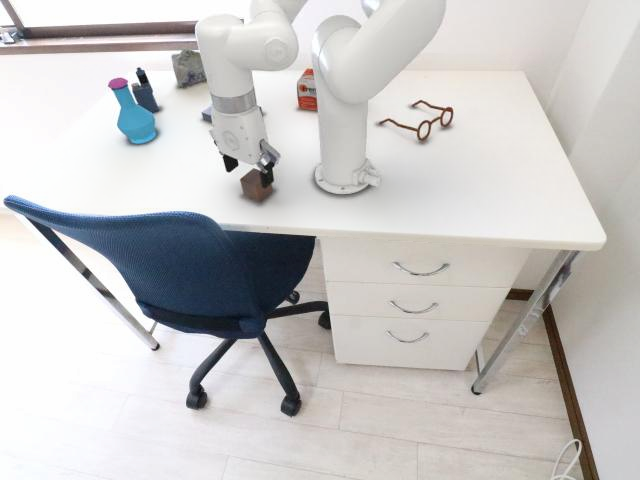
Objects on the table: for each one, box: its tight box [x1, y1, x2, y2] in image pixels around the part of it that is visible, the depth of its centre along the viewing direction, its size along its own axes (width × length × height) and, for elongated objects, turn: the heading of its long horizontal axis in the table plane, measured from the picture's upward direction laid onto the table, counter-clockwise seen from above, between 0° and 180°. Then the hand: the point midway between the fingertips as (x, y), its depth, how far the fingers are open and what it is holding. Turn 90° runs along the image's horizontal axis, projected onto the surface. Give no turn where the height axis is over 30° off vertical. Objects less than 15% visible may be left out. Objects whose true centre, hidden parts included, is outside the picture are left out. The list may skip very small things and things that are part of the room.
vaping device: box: [130, 66, 160, 114], centre depth 103 cm, size 3×5×12 cm, turn 112°
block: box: [239, 167, 274, 203], centre depth 79 cm, size 4×4×4 cm
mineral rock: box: [170, 48, 207, 88], centre depth 115 cm, size 13×11×10 cm
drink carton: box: [296, 68, 318, 112], centre depth 101 cm, size 15×8×8 cm, turn 72°
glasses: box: [379, 99, 454, 142], centre depth 93 cm, size 13×13×5 cm
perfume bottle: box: [107, 77, 157, 145], centre depth 93 cm, size 9×9×15 cm
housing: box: [200, 105, 263, 123], centre depth 101 cm, size 13×10×4 cm
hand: (250, 176), depth 77 cm, fingers open, 9 cm apart
